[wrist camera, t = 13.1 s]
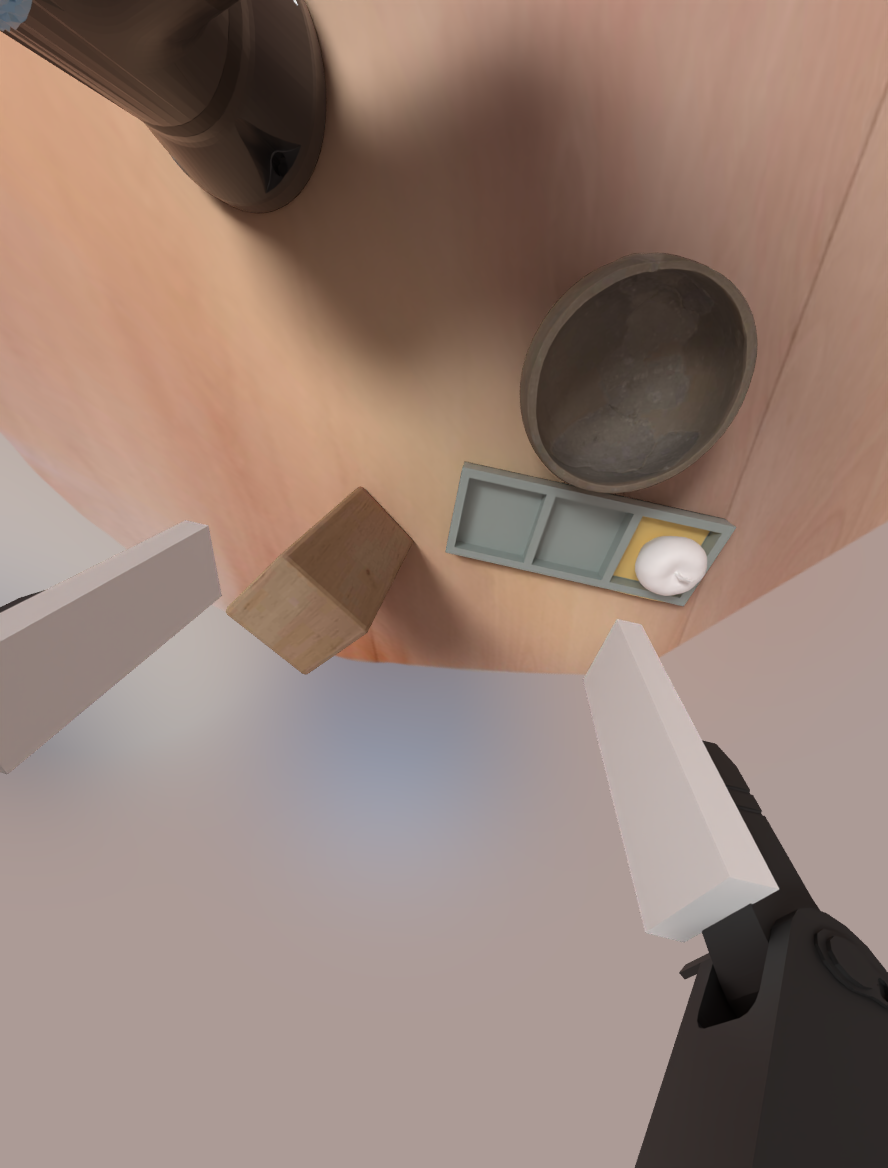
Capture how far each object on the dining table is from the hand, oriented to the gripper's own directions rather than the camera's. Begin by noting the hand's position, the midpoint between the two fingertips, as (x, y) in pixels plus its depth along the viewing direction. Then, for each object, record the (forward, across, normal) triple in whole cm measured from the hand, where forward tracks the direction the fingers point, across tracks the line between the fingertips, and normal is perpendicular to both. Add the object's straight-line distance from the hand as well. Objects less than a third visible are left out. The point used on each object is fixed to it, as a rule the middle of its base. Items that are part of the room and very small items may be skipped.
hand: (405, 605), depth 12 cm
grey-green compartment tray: (+35, +15, -9) cm, 39 cm away
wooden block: (+35, -12, -16) cm, 40 cm away
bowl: (+35, +12, +7) cm, 38 cm away
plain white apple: (+34, +25, -9) cm, 43 cm away
